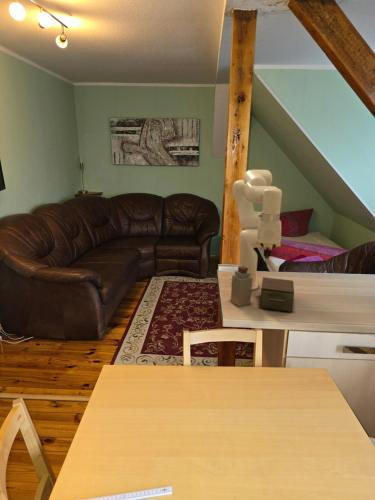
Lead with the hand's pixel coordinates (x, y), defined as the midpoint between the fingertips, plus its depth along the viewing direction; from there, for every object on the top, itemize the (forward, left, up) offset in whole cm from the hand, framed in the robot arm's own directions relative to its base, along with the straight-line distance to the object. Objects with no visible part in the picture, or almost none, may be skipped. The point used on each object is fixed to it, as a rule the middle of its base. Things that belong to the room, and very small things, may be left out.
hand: (266, 257), depth 148 cm
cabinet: (+6, +8, -25) cm, 27 cm away
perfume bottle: (-11, +4, -25) cm, 28 cm away
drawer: (+6, +4, -24) cm, 25 cm away
